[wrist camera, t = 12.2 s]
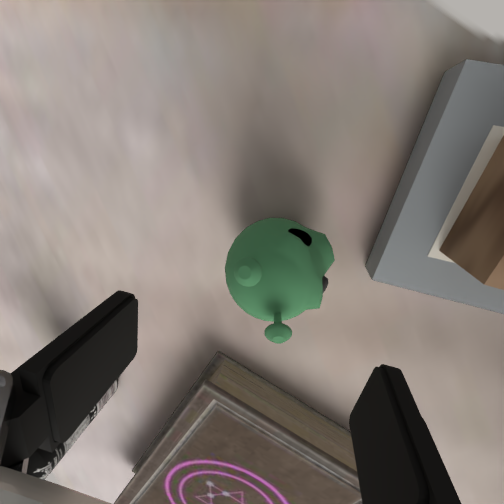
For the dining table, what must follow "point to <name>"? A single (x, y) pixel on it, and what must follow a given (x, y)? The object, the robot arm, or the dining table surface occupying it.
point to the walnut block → (482, 227)
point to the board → (443, 188)
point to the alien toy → (278, 272)
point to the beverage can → (46, 461)
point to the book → (245, 448)
